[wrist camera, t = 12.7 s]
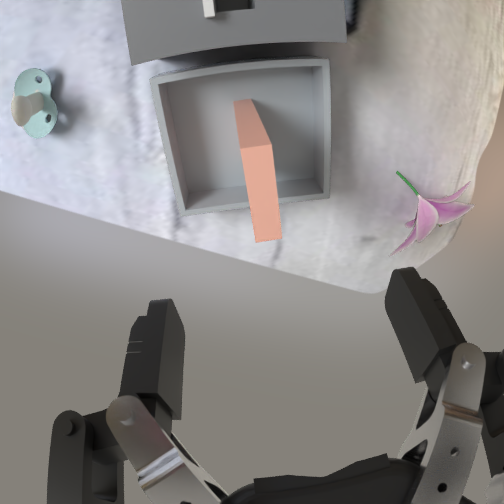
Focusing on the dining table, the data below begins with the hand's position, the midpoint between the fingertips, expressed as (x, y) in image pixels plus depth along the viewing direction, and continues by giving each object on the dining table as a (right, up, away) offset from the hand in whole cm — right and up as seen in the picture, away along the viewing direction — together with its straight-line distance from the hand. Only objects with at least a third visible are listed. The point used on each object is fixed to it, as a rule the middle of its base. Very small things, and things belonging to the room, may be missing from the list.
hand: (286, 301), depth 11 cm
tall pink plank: (-2, +13, +16) cm, 21 cm away
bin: (-2, +13, +16) cm, 21 cm away
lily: (+18, +9, +23) cm, 30 cm away
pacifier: (-23, +17, +12) cm, 31 cm away
